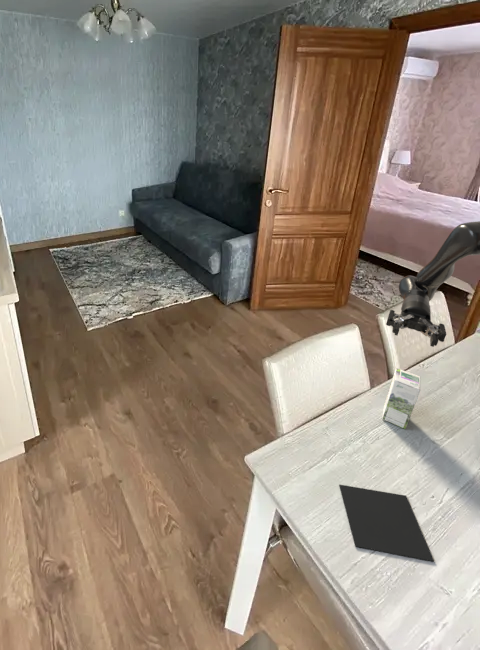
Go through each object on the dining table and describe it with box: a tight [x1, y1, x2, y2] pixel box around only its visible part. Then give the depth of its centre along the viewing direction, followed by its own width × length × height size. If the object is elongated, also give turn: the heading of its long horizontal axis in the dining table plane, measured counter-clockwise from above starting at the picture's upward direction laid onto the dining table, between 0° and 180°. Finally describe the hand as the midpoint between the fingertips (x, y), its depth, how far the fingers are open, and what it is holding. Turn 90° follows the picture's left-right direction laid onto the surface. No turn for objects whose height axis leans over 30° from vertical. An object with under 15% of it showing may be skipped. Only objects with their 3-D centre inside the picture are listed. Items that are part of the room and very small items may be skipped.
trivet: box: [338, 484, 435, 563], centre depth 72 cm, size 14×12×1 cm
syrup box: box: [381, 367, 421, 430], centre depth 93 cm, size 6×6×14 cm
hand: (414, 338), depth 96 cm, fingers open, 8 cm apart
